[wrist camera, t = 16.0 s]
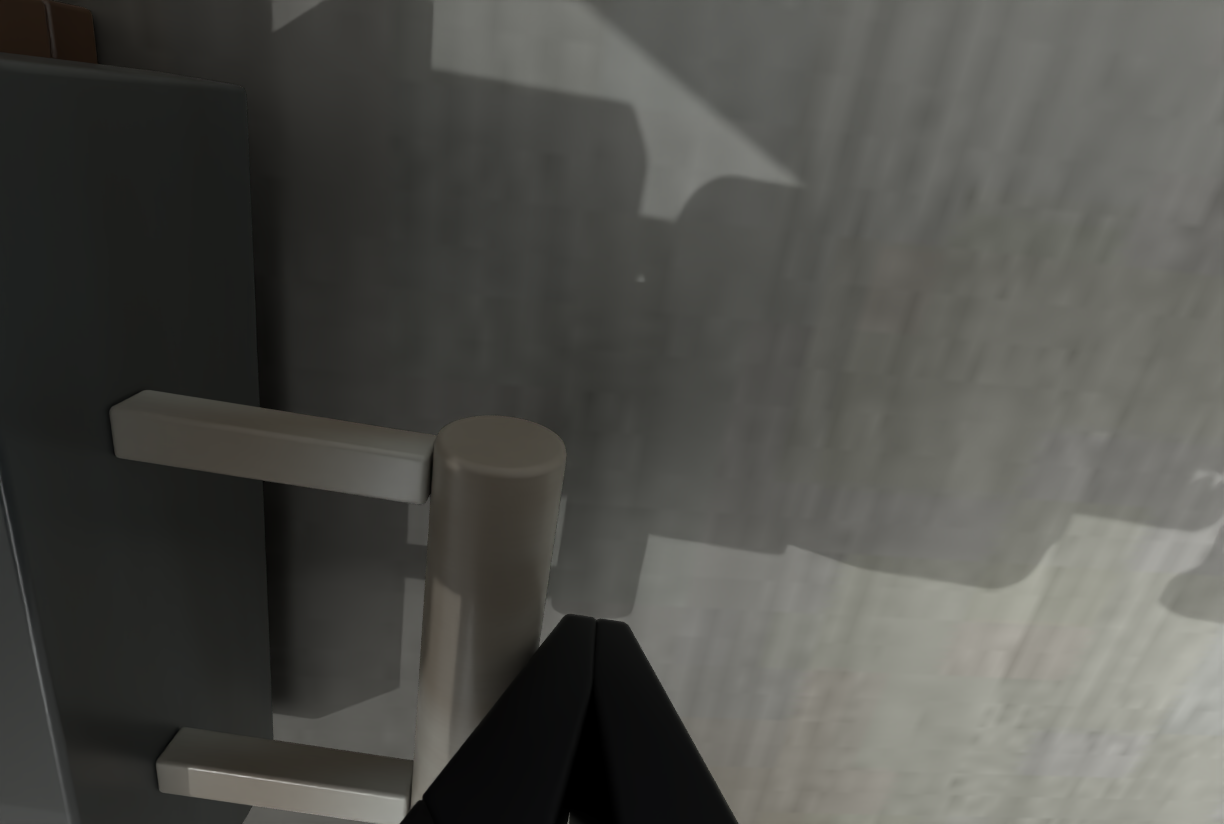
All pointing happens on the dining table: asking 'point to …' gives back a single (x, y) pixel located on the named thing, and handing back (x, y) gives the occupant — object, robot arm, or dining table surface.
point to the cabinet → (47, 30)
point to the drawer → (200, 482)
